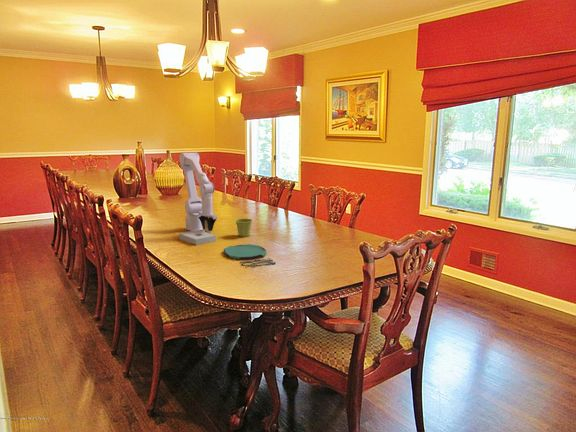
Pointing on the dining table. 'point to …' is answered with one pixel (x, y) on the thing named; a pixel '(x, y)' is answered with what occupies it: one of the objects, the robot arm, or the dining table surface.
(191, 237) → the hole board
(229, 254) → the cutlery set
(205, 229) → the dowel
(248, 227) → the plant pot
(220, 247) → the dining table surface
